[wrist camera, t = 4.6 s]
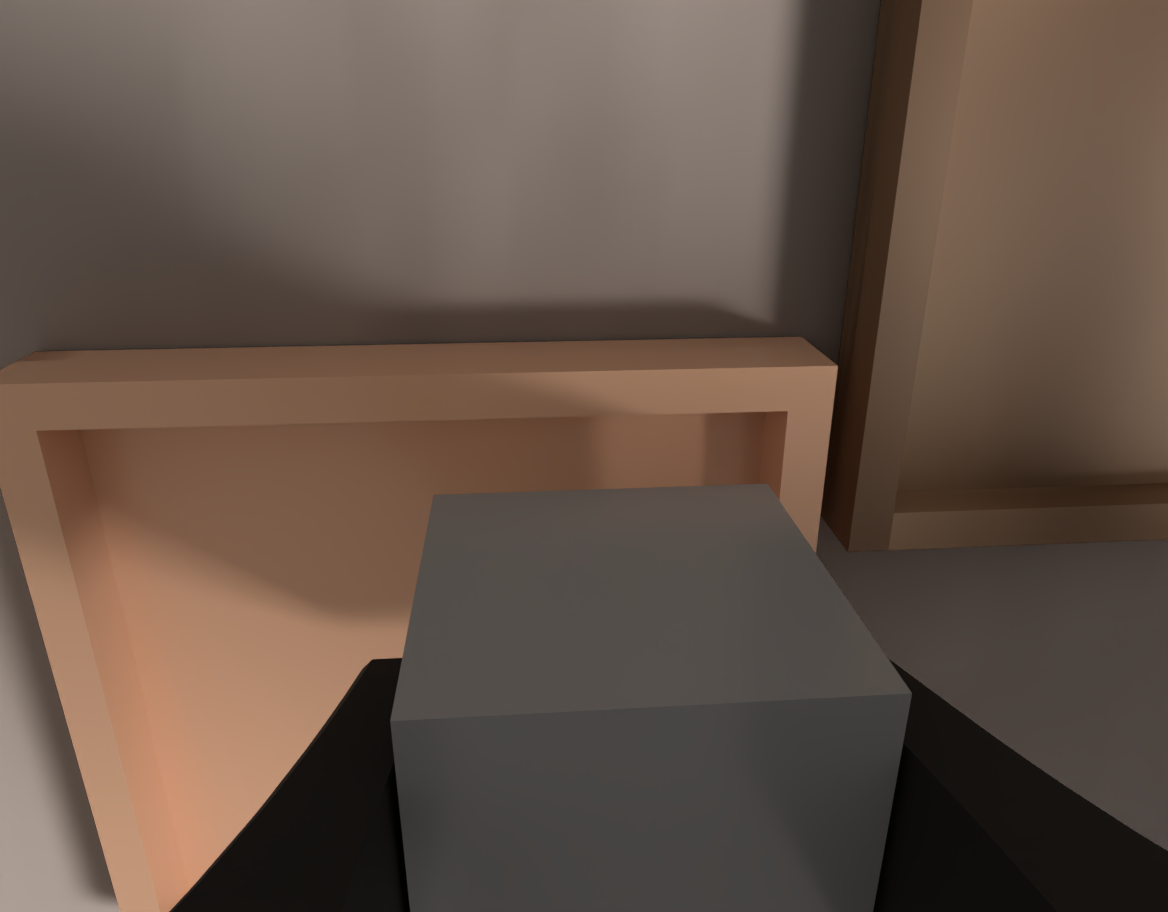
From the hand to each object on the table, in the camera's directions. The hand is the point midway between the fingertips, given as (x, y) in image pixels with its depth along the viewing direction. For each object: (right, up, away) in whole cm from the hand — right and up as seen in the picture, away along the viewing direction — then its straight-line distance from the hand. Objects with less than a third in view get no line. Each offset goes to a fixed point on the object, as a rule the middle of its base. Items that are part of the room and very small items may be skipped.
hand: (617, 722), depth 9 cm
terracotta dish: (-3, 0, +5) cm, 5 cm away
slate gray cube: (0, +1, +2) cm, 2 cm away
